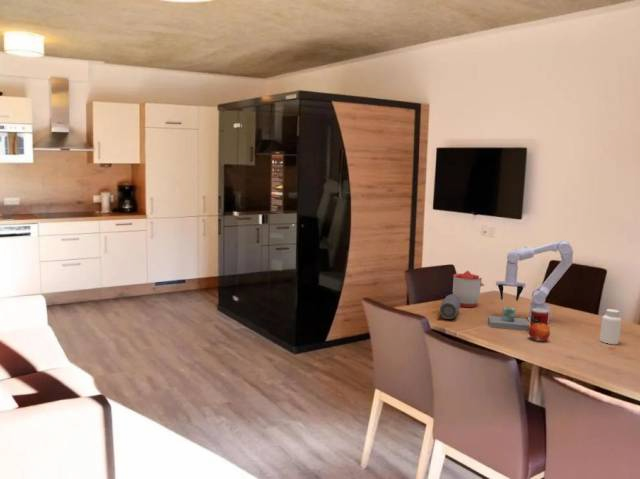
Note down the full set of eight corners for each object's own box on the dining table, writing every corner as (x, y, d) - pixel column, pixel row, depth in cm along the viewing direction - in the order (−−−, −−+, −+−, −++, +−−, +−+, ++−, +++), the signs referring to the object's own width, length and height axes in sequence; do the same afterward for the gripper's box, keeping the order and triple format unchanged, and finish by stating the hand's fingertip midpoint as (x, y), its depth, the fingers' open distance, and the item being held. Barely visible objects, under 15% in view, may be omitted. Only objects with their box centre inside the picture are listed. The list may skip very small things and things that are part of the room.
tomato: (551, 343, 252) (552, 326, 251) (529, 341, 254) (531, 324, 253) (547, 337, 261) (548, 321, 260) (526, 335, 263) (527, 319, 262)
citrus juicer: (485, 309, 312) (488, 273, 310) (454, 308, 312) (457, 272, 310) (478, 302, 328) (481, 268, 325) (448, 301, 328) (450, 267, 325)
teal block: (512, 319, 282) (513, 307, 282) (514, 322, 277) (515, 310, 277) (502, 318, 283) (503, 307, 283) (503, 321, 278) (504, 309, 278)
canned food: (546, 331, 273) (548, 309, 271) (547, 335, 265) (549, 312, 264) (529, 329, 275) (531, 307, 274) (529, 333, 268) (531, 310, 266)
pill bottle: (618, 346, 253) (621, 313, 251) (598, 342, 257) (602, 310, 255) (619, 341, 260) (623, 310, 258) (600, 338, 264) (603, 307, 262)
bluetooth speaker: (457, 322, 282) (458, 303, 281) (438, 320, 285) (439, 300, 284) (460, 312, 304) (462, 294, 303) (443, 310, 307) (444, 292, 306)
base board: (524, 323, 285) (525, 318, 285) (528, 330, 272) (529, 325, 272) (487, 320, 288) (488, 315, 288) (490, 327, 276) (490, 322, 275)
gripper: (497, 274, 291) (495, 300, 293) (527, 276, 288) (524, 302, 290) (496, 272, 298) (494, 297, 300) (525, 274, 295) (522, 299, 297)
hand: (509, 299), depth 295 cm, fingers open, 7 cm apart
